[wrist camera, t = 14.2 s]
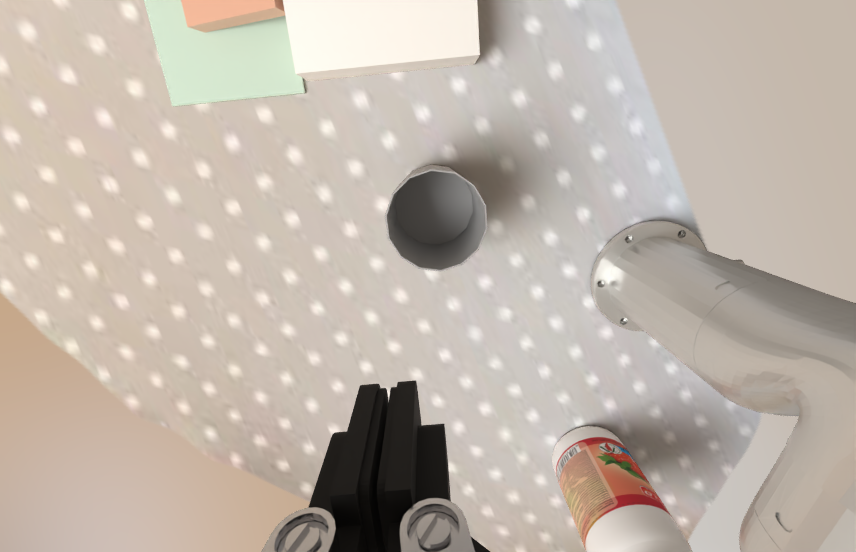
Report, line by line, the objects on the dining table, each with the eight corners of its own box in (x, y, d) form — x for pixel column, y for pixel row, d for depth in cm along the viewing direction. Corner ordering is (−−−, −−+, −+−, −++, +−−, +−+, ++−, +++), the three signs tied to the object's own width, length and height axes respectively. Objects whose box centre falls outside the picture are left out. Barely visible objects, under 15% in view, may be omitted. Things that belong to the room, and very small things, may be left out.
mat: (270, -113, 33) (268, -115, 33) (305, 93, 38) (304, 92, 38) (120, -96, 34) (117, -98, 33) (174, 106, 39) (172, 106, 38)
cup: (379, 216, 42) (366, 236, 33) (421, 148, 40) (419, 148, 30) (445, 258, 44) (451, 288, 34) (489, 194, 41) (507, 207, 32)
